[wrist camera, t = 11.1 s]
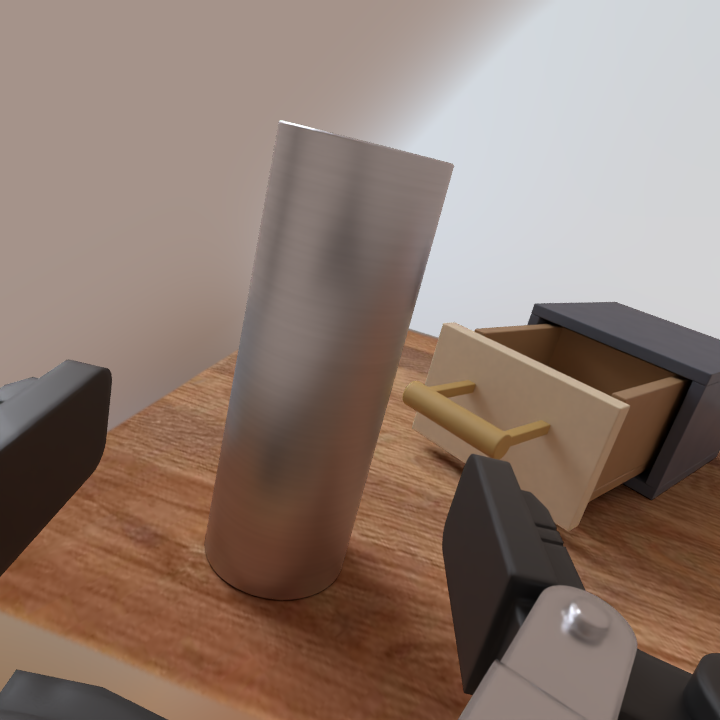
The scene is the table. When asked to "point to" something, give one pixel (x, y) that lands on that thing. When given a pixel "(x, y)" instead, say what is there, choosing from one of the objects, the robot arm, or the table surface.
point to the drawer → (547, 409)
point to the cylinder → (318, 354)
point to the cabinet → (669, 351)
